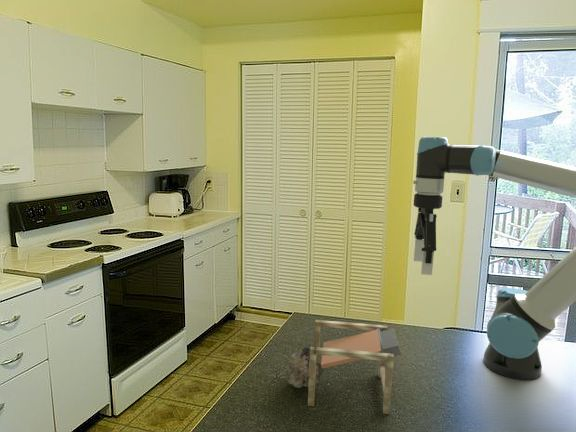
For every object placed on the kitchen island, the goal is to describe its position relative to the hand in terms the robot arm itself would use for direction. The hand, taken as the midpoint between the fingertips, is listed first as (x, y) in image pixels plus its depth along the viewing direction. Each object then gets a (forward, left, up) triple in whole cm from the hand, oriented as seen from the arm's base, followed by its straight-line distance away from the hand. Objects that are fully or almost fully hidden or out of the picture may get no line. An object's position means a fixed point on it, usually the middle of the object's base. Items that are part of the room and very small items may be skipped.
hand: (422, 267), depth 126 cm
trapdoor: (+17, +19, -19) cm, 31 cm away
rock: (+27, +22, -22) cm, 41 cm away
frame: (+20, +19, -29) cm, 40 cm away
